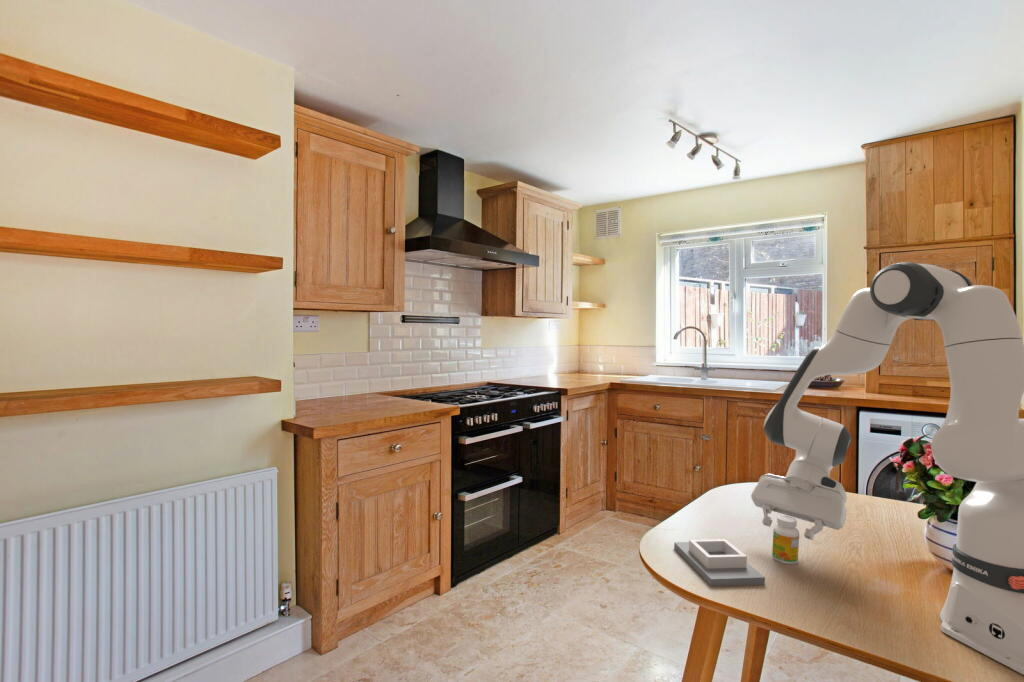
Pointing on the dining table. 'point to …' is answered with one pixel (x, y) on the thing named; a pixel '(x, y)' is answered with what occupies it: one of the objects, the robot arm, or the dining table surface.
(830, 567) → the dining table surface
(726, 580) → the socket board
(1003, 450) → the robot arm
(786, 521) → the supplement bottle
